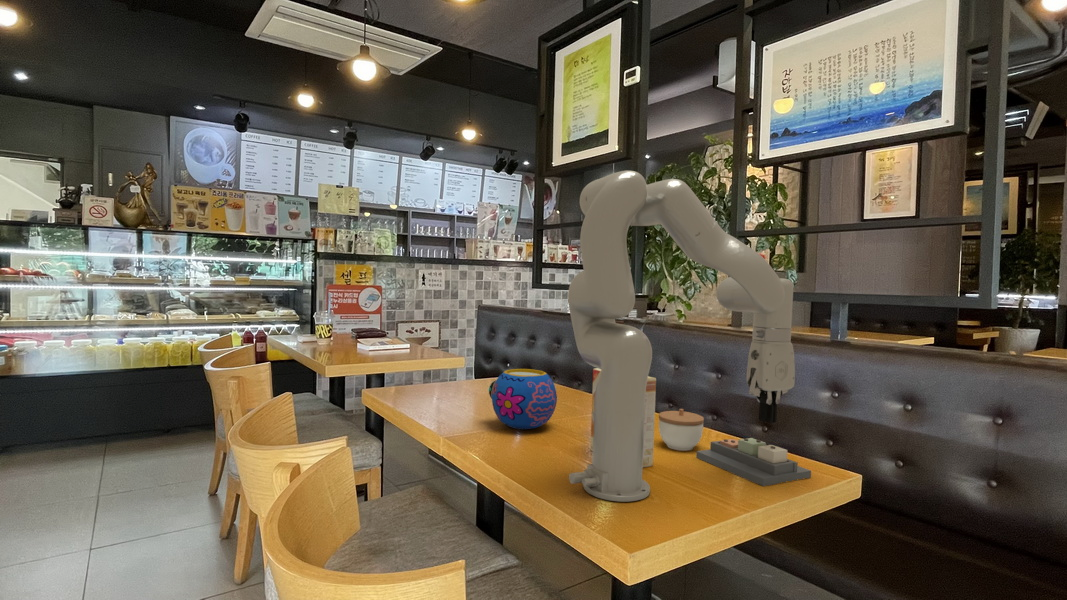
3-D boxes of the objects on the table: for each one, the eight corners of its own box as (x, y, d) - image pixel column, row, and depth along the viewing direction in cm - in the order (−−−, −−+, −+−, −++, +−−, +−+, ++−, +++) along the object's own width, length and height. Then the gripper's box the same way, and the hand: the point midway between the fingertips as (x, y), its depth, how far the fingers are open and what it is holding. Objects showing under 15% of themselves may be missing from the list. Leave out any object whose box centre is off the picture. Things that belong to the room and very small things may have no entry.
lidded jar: (692, 457, 128) (694, 416, 127) (650, 447, 134) (651, 409, 134) (709, 446, 136) (710, 409, 136) (668, 438, 143) (669, 402, 142)
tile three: (732, 456, 124) (733, 444, 124) (719, 450, 127) (719, 439, 127) (745, 454, 126) (746, 442, 126) (732, 449, 129) (732, 437, 129)
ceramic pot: (527, 416, 161) (529, 365, 161) (569, 430, 147) (571, 374, 147) (477, 424, 150) (479, 369, 149) (517, 440, 136) (519, 380, 136)
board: (763, 486, 110) (763, 469, 110) (696, 457, 127) (697, 442, 127) (810, 477, 116) (811, 461, 116) (741, 451, 133) (741, 437, 133)
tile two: (752, 455, 119) (752, 443, 119) (738, 450, 122) (738, 438, 122) (765, 453, 121) (766, 441, 121) (751, 448, 124) (751, 436, 124)
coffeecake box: (588, 450, 130) (591, 368, 130) (613, 447, 133) (616, 366, 133) (627, 470, 117) (631, 379, 116) (654, 466, 120) (657, 377, 119)
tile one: (773, 463, 114) (774, 450, 114) (757, 457, 118) (758, 445, 117) (786, 461, 116) (787, 448, 116) (771, 455, 119) (771, 443, 119)
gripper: (761, 338, 111) (757, 429, 111) (810, 337, 118) (806, 422, 118) (732, 334, 117) (728, 420, 118) (780, 333, 124) (776, 414, 125)
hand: (767, 421), depth 118 cm, fingers closed
